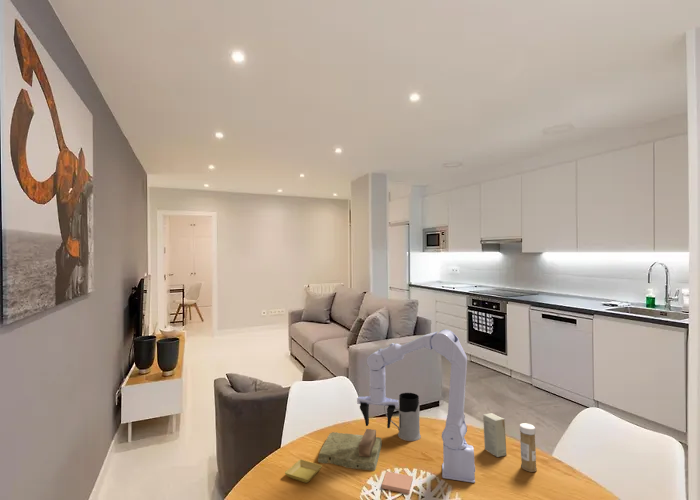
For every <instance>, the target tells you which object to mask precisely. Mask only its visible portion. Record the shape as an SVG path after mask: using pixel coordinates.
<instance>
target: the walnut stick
mask: <svg viewBox="0 0 700 500" xmlns="http://www.w3.org/2000/svg"><path fill="white" fill-rule="evenodd" d="M362 435H363V438H362V440H361V442H360V444H359V456H363V457H370V455H371V452H372V449H373V447H374V444H375V441H376V437H377V430H376V429H371V428H370V429H369V428H366V429H365V431H364V434H362Z"/></svg>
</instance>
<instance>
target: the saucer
mask: <svg viewBox="0 0 700 500" xmlns="http://www.w3.org/2000/svg"><path fill="white" fill-rule="evenodd" d="M322 467H323V465H322V464H321V463H316V462H312V461H308V460H304V459H299V460H297V461H296V462H295V463H294V464H293V465H292V466H291V467H289V468H288V469H287V470H285V472H284V474H285V475H286V476H287V477H288V478H289V479H293V480H296V481H299V482H302V483H305V484H307V483H309V482H310V481H311V480H312V479H313V478H314V477H315V476H316V475H317V474H318V473H319V472H320V470H321V469H322Z"/></svg>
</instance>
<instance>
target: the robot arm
mask: <svg viewBox="0 0 700 500" xmlns="http://www.w3.org/2000/svg"><path fill="white" fill-rule="evenodd" d="M388 345H389V346H387V347H384V348H382V347H381V348H378V349H377V350H376V351H374V352H373V353H371V354H369V355H368V356H367V359H366V364H367V366H368V369H369V371H368V372H369V373H368V374H369V375H368V376H369V377H368V378H369V396H367V395H366V396H357V398H356V403H357V404H358V405H359V409H360V411H361V414H362V415H363V418H364V422H365V426H366V427H369V424H370V418H369V417H370V415H369V409H370V405H373V406H383V407H384V406H385V407H387V408H386V414H387V416H388V418H387V421H386V422H387V425H386V426H387V427H386V428H387V429H390V428H391V423H392V422H391V421H392V419H393V417H392V416H393V414H394V412H395V411H396V410H395V408H396V409H397V408H398V409H399V399H394V398H391V397H387V395H386V389H387V387H386V385H387V384H386V383H387V382H386V381H387V380H386V379H387V376H386V366H390V365H392V364H395V363H397V362H400V361H402V360H404V358H405V356H406V355H407V354H409V353H412V352H415V351H418V350H421V349H423V348H426V349H427V350H430V351H431V350H433V351H435V353H437V354H439V355H440V356H442V357H444V358H445V360H447V361H448V362H449V363H450V373H449V374H450V377H449V378H450V379H449V391H448V392H449V393H448V405H447V408H448V409H447V415H446V421H445V427H444V428H443V431H442V432H441V440H442V450H443V452H442V453H443V455H442V456H443V463H442V465H441V467H442V468H441V471H442V474H441V477H442V479H447V480H453V481H461V482H467V483H472V484H473V483H476V477H475V475H476V474H475V473H476V465H475V451H474V449H475V448H474V446H473V445H471V444H468V442H467V441H466V438H465V436H466V434H467V433H468V432H467V431H468V426H467V424H466V421H465V420H466V419H465V418H466V415H465V404H466V403H465V400H466V384H467V371H468V370H467V368H468V355H467V353H466V352H465V349H464V348H463V346H462V344H461V342H460V338H459V337H458V336H457V335H456V334H455V332H453V331H452V330H450V329H442V330H440V331H433V332H431V333H427V334H424V335H422V336H419V337H417V338H415V339H413V340H411V341H409V342H406V343H404V344H400V343H398V342H397V343H394V342H392V343H389V344H388ZM387 416H386V417H387Z"/></svg>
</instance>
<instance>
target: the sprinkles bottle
mask: <svg viewBox="0 0 700 500" xmlns="http://www.w3.org/2000/svg"><path fill="white" fill-rule="evenodd" d="M519 433H520V458H521V461H520V462H521V463H520V464H521V465H520V467H521V469H522V470H524V471H526V472H528V473H529V472H530V473H534V472H536V471H537V469H538V468H537V451H536V436H535V435H536V427H535V426H534V425H533V424H531V423H525V422H523V423H519Z"/></svg>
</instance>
